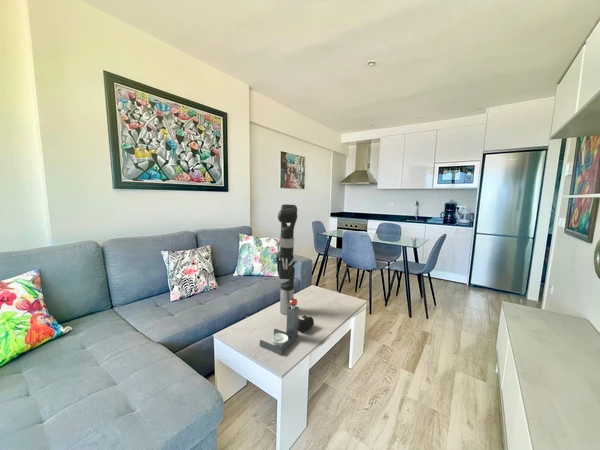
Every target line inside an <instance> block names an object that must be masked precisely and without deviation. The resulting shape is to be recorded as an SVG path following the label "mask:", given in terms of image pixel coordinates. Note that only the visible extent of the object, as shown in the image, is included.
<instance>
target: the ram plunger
mask: <svg viewBox="0 0 600 450" xmlns="http://www.w3.org/2000/svg"><path fill="white" fill-rule="evenodd" d="M289 304H290V305H291V309H293V310H294V309H295V306H297V305H298V299H296V298H294V299H290V301H289Z"/></svg>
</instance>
